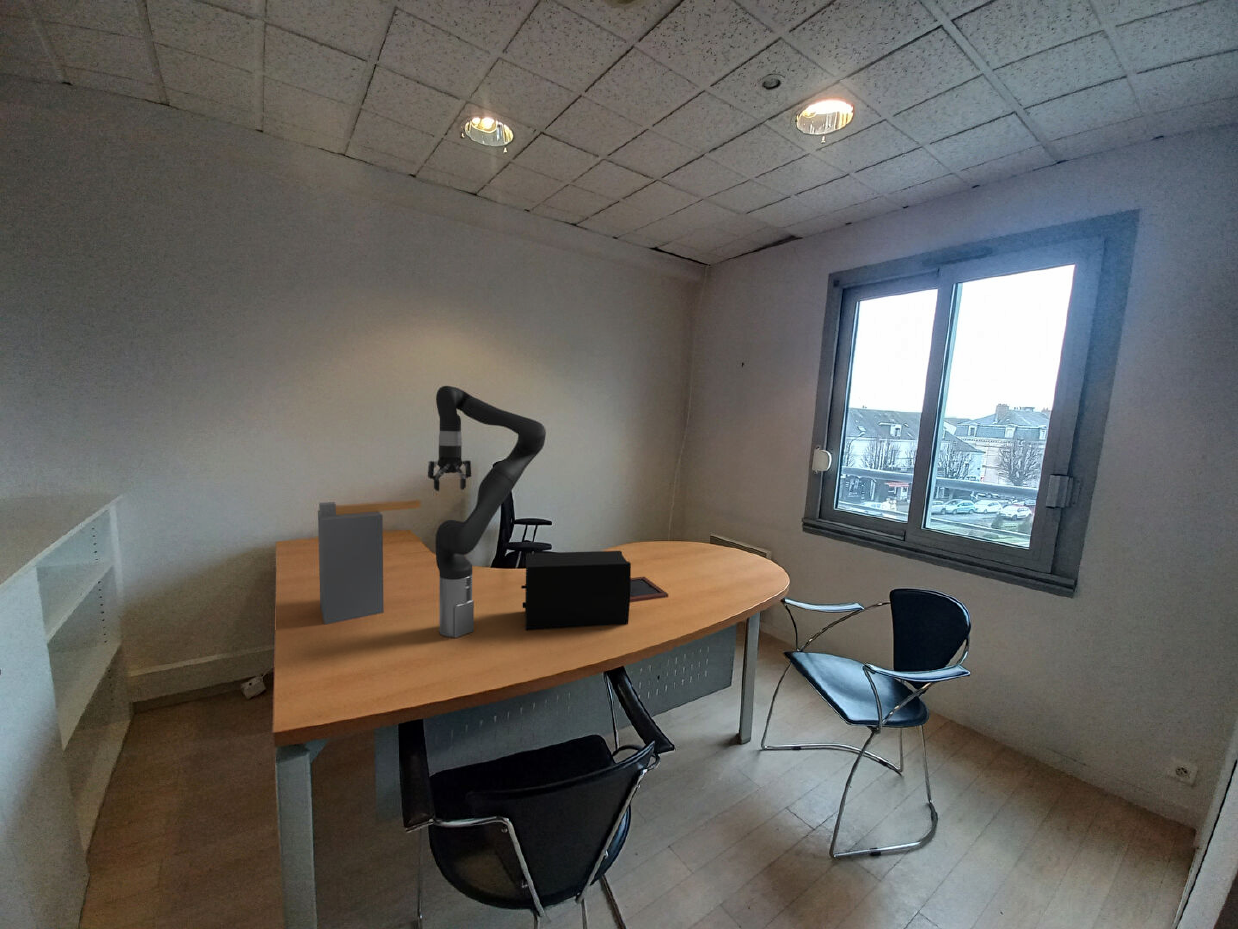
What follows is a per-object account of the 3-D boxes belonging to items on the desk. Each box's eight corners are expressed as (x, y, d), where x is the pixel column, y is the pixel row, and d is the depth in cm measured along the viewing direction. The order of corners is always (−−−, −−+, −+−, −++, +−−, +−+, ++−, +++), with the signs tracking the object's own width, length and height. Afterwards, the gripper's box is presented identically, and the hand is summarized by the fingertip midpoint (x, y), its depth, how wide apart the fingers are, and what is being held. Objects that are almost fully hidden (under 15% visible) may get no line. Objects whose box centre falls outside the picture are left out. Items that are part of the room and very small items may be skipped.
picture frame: (606, 607, 157) (668, 598, 167) (606, 601, 157) (668, 593, 167) (587, 587, 176) (644, 580, 186) (587, 582, 175) (644, 575, 186)
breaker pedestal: (375, 595, 158) (374, 506, 155) (384, 612, 145) (383, 514, 142) (320, 606, 148) (317, 510, 145) (324, 624, 135) (322, 520, 132)
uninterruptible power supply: (629, 626, 143) (631, 564, 141) (520, 633, 135) (521, 568, 133) (617, 605, 158) (620, 549, 157) (520, 610, 151) (521, 552, 149)
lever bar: (418, 506, 158) (418, 496, 157) (421, 508, 155) (421, 498, 154) (319, 514, 140) (319, 502, 140) (320, 516, 137) (320, 505, 137)
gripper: (466, 443, 164) (466, 487, 165) (425, 443, 155) (425, 489, 157) (474, 444, 158) (473, 490, 160) (431, 444, 149) (431, 492, 151)
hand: (449, 490), depth 158 cm, fingers open, 8 cm apart
